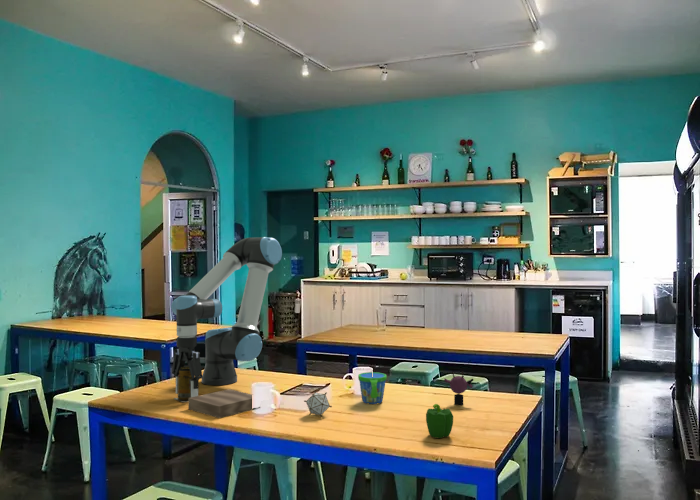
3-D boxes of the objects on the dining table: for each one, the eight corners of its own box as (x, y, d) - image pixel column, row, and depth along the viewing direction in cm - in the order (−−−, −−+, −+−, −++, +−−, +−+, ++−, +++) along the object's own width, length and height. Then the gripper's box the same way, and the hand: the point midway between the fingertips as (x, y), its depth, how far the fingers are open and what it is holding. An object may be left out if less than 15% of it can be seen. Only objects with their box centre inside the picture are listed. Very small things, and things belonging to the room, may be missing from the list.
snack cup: (386, 407, 212) (386, 379, 212) (357, 407, 213) (357, 379, 213) (386, 397, 228) (386, 370, 228) (359, 397, 228) (359, 370, 228)
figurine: (474, 404, 216) (474, 371, 216) (460, 408, 211) (460, 374, 211) (457, 400, 222) (457, 368, 222) (443, 403, 217) (442, 371, 217)
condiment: (191, 396, 231) (191, 365, 231) (200, 400, 225) (200, 368, 225) (173, 398, 227) (173, 367, 227) (182, 403, 220) (182, 370, 220)
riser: (229, 399, 225) (229, 389, 225) (260, 407, 213) (260, 396, 213) (188, 409, 211) (188, 397, 211) (219, 418, 199) (219, 406, 199)
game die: (323, 425, 203) (341, 402, 203) (309, 422, 196) (327, 398, 196) (309, 408, 209) (326, 386, 208) (294, 404, 202) (312, 381, 202)
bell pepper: (441, 430, 184) (441, 398, 185) (458, 437, 177) (458, 404, 177) (419, 434, 180) (419, 401, 181) (435, 442, 173) (435, 407, 173)
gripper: (162, 334, 230) (162, 392, 230) (195, 340, 216) (195, 401, 216) (179, 332, 236) (179, 389, 236) (212, 337, 222) (212, 397, 221)
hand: (186, 395), depth 226 cm, fingers open, 9 cm apart
